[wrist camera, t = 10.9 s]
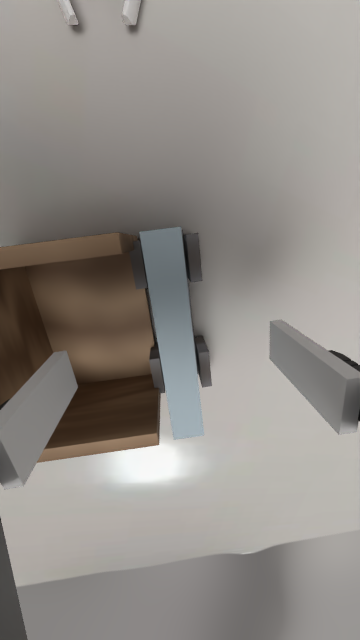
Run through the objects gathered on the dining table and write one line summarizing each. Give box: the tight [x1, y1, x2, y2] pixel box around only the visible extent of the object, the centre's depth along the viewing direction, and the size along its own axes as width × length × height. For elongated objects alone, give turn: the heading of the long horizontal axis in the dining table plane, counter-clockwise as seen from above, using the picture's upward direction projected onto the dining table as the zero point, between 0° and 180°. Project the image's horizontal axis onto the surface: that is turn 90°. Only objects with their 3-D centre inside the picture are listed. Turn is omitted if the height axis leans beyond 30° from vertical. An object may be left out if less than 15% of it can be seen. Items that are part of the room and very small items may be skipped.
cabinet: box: [0, 230, 212, 463], centre depth 21 cm, size 16×17×10 cm
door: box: [139, 227, 204, 440], centre depth 21 cm, size 16×2×9 cm, turn 7°
